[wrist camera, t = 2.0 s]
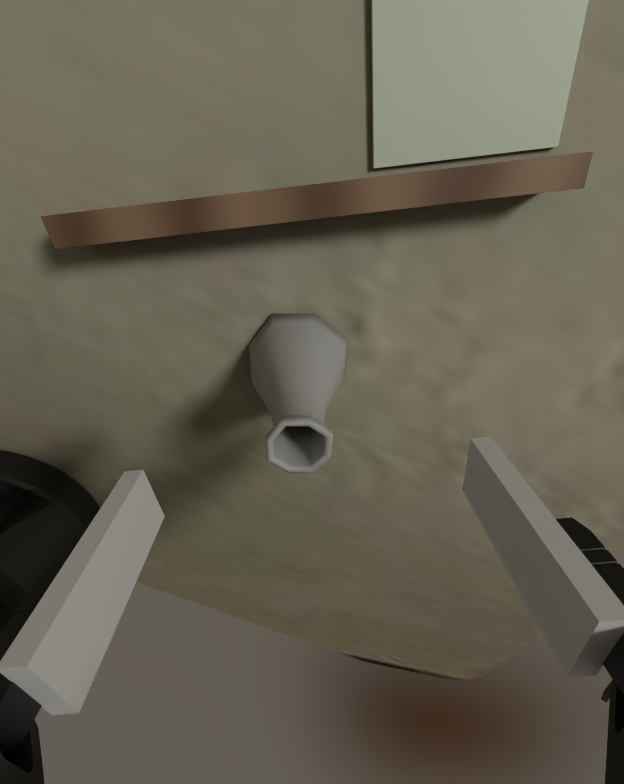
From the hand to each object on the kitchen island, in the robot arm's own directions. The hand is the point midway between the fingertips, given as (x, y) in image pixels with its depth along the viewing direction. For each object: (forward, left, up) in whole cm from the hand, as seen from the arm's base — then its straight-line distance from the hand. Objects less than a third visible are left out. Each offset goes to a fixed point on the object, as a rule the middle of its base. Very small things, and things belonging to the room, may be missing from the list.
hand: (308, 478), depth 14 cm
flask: (0, 0, -12) cm, 12 cm away
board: (+10, +16, -12) cm, 22 cm away
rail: (+2, +10, -12) cm, 16 cm away
